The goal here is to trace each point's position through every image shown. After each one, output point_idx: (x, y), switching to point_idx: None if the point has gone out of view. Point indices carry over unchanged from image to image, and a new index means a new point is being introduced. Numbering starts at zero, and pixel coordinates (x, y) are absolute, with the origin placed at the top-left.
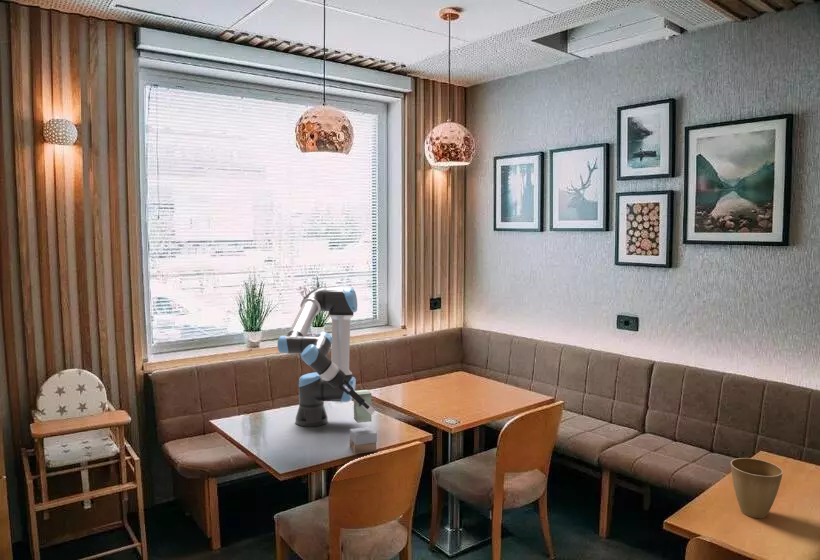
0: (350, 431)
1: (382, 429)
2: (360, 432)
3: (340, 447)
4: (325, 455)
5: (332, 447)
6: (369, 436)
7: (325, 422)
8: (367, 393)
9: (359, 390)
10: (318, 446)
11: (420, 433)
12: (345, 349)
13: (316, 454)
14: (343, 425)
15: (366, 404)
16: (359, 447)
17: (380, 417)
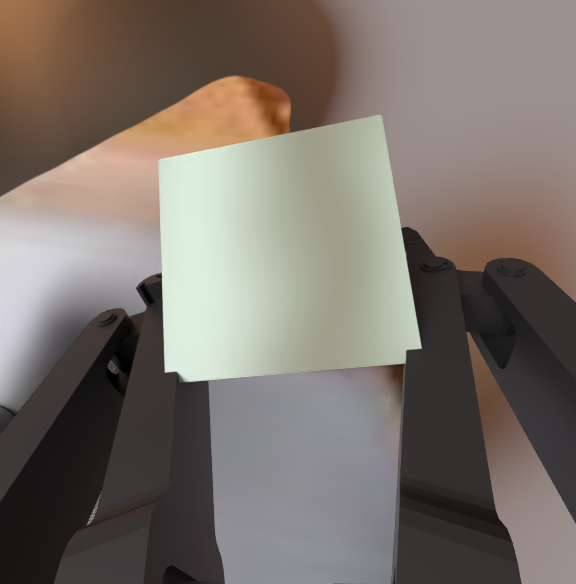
0: None
1: (138, 213)
2: None
3: (287, 400)
4: (366, 479)
5: (279, 433)
6: None
7: (11, 418)
8: (390, 177)
9: (172, 285)
10: (255, 491)
11: (213, 92)
12: None
13: (346, 517)
14: (55, 349)
15: (428, 251)
16: None
17: (20, 204)
